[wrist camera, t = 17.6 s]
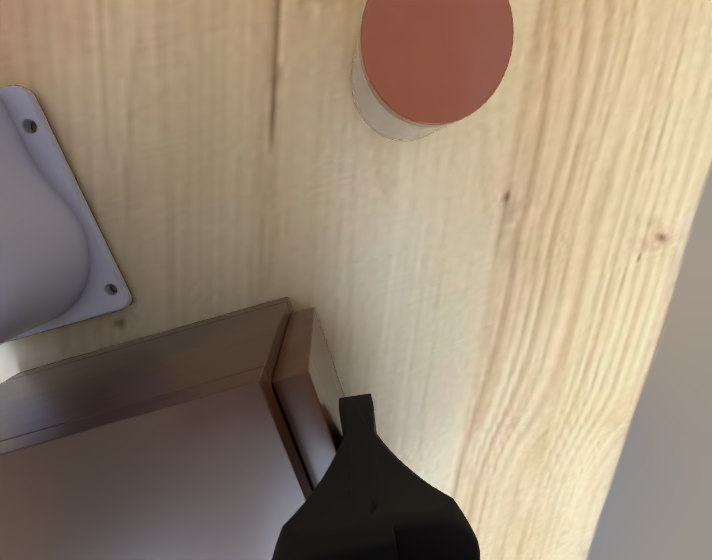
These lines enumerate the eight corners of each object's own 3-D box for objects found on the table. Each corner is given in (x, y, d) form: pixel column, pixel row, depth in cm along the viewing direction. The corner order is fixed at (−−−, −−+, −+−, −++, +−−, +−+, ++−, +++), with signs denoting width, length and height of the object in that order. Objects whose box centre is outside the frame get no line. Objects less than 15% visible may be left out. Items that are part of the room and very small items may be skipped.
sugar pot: (337, 33, 14) (341, -32, 10) (449, 1, 14) (502, -76, 10) (366, 153, 15) (381, 142, 11) (469, 124, 16) (523, 102, 11)
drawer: (339, 299, 16) (346, 359, 11) (403, 511, 20) (432, 638, 14) (56, 380, 16) (-87, 483, 11) (173, 577, 20) (113, 731, 14)
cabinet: (288, 296, 17) (258, 380, 10) (364, 516, 21) (384, 694, 14) (18, 372, 17) (-220, 517, 9) (146, 579, 21) (49, 791, 14)
